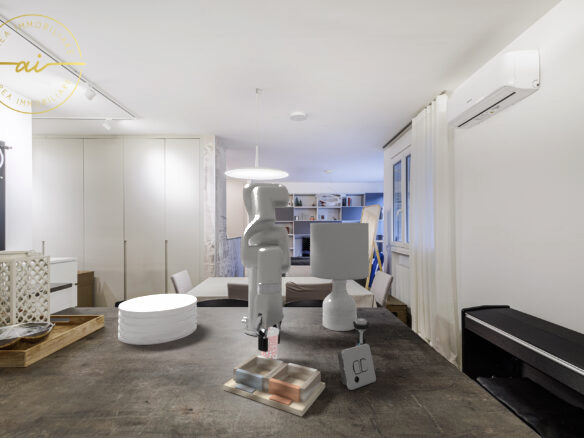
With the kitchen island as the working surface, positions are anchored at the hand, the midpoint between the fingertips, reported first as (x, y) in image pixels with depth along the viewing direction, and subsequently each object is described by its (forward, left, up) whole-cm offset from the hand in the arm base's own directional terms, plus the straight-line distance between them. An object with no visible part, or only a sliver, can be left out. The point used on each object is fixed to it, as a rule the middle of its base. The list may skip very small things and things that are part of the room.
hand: (269, 346), depth 90 cm
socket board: (+10, -13, -4) cm, 17 cm away
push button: (+23, +20, -4) cm, 31 cm away
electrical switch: (+27, 0, -4) cm, 27 cm away
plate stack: (-52, +1, -5) cm, 52 cm away
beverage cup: (0, 0, -4) cm, 4 cm away
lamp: (+8, +41, -4) cm, 42 cm away
